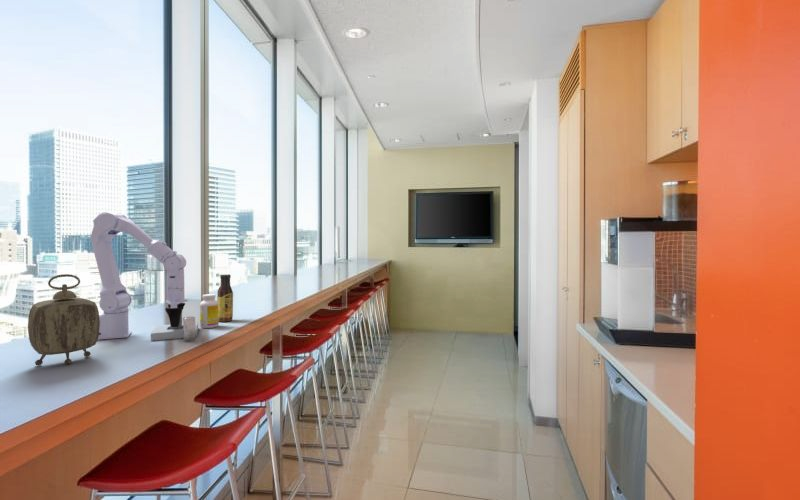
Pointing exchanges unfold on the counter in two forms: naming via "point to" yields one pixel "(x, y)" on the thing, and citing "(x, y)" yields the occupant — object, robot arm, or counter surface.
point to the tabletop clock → (63, 323)
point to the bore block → (169, 332)
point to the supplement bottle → (209, 311)
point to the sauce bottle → (225, 299)
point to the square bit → (179, 323)
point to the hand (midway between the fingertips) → (175, 324)
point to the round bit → (189, 329)
